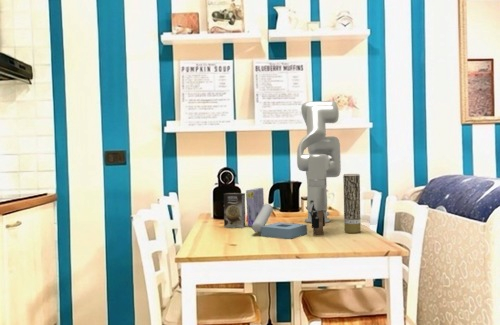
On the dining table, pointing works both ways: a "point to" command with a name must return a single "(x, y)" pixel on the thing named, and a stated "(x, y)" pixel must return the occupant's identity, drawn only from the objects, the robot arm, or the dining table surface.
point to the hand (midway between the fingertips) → (318, 226)
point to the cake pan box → (254, 204)
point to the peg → (319, 230)
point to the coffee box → (234, 210)
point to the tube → (262, 217)
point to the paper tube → (351, 203)
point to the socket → (284, 230)
